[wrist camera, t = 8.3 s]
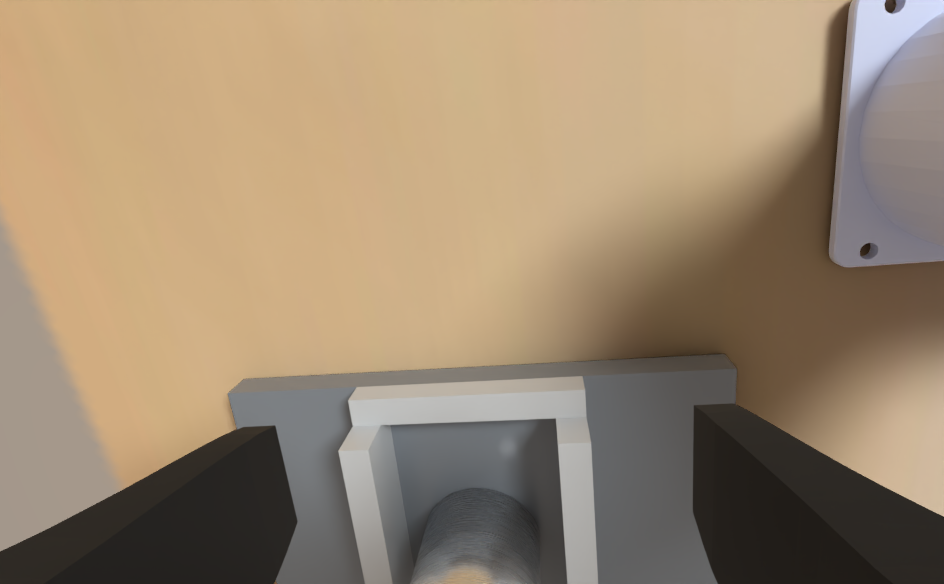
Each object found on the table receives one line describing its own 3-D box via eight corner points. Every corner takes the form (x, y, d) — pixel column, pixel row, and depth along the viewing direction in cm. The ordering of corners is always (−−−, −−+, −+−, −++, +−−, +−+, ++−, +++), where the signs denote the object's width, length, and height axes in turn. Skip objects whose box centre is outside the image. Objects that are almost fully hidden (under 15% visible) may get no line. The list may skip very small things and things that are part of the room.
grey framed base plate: (724, 353, 19) (768, 406, 16) (716, 658, 23) (748, 755, 20) (243, 379, 21) (187, 429, 18) (311, 651, 25) (275, 736, 22)
